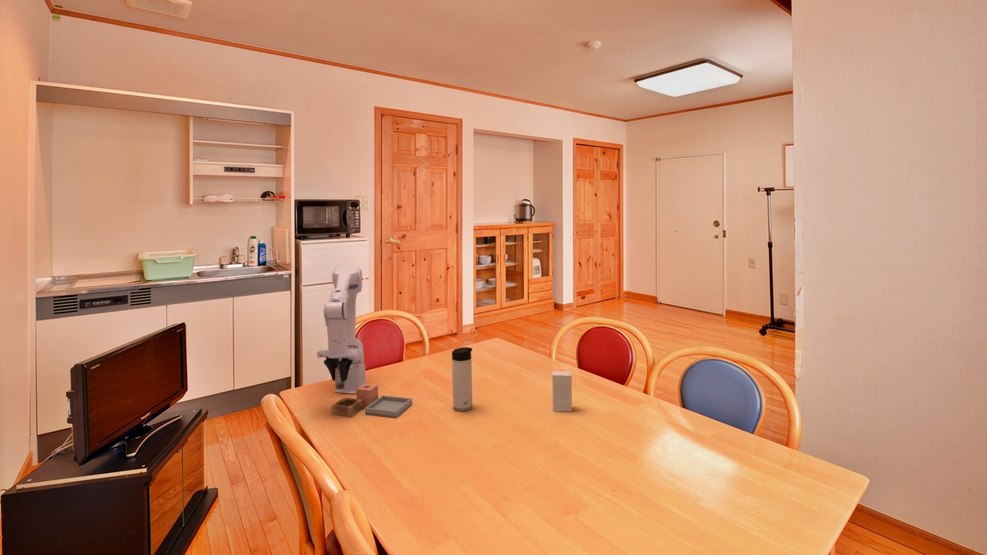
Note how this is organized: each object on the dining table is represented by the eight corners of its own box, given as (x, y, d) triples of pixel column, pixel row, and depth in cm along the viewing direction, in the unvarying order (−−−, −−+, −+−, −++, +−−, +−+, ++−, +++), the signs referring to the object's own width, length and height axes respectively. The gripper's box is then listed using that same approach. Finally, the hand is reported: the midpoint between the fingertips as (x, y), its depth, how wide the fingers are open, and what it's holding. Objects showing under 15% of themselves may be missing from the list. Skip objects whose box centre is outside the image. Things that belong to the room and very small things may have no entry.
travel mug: (470, 412, 151) (469, 351, 149) (450, 411, 153) (449, 350, 150) (475, 404, 157) (474, 345, 155) (456, 403, 159) (454, 345, 156)
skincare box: (570, 406, 155) (571, 371, 153) (571, 412, 151) (572, 375, 149) (552, 406, 155) (552, 370, 154) (552, 411, 151) (552, 375, 150)
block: (365, 400, 162) (364, 383, 161) (378, 402, 161) (377, 384, 160) (357, 406, 158) (356, 388, 157) (370, 407, 156) (369, 390, 155)
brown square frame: (345, 406, 158) (344, 397, 157) (363, 408, 156) (363, 399, 155) (332, 414, 151) (331, 405, 151) (351, 417, 149) (351, 408, 149)
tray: (382, 400, 162) (382, 395, 161) (412, 404, 158) (412, 398, 158) (365, 414, 151) (364, 408, 151) (396, 417, 148) (396, 411, 148)
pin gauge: (338, 385, 155) (337, 365, 154) (346, 386, 155) (345, 365, 154) (333, 388, 153) (332, 367, 152) (341, 389, 152) (340, 368, 151)
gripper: (309, 340, 150) (312, 382, 152) (349, 343, 146) (352, 386, 148) (323, 335, 157) (326, 375, 158) (362, 338, 152) (364, 379, 154)
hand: (339, 380), depth 153 cm, fingers closed on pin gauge, 3 cm apart
